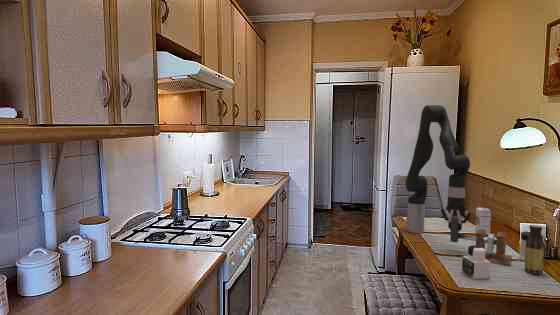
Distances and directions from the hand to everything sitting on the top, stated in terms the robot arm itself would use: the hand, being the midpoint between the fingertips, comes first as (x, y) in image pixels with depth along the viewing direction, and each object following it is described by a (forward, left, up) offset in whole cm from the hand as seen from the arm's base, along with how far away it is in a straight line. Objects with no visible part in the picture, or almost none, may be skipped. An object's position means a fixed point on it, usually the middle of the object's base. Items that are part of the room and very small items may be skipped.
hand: (455, 229), depth 159 cm
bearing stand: (+15, 0, -11) cm, 18 cm away
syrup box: (+8, +41, -11) cm, 43 cm away
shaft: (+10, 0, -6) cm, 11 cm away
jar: (+30, +9, -11) cm, 33 cm away
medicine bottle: (+12, -25, -11) cm, 30 cm away
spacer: (+15, 0, -7) cm, 17 cm away
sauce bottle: (+31, -7, -11) cm, 34 cm away
